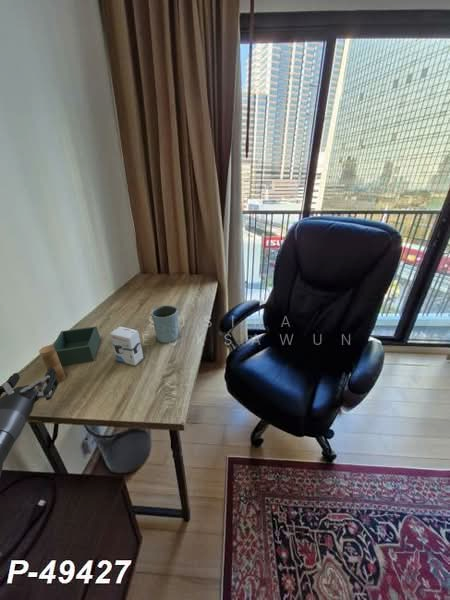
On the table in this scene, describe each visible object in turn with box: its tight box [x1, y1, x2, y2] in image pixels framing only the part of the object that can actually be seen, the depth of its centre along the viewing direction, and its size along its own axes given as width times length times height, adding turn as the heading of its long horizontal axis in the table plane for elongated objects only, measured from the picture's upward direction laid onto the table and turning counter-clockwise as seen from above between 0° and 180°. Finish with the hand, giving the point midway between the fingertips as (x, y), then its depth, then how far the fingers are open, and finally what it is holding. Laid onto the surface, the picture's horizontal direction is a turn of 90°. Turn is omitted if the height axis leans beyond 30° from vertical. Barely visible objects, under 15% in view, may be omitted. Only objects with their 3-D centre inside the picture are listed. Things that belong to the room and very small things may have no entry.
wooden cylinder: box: [38, 344, 67, 383], centre depth 80 cm, size 4×4×12 cm
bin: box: [52, 326, 101, 367], centre depth 93 cm, size 13×14×6 cm
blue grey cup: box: [150, 305, 179, 344], centre depth 101 cm, size 10×10×12 cm
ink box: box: [109, 326, 144, 367], centre depth 88 cm, size 8×5×12 cm, turn 68°
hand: (35, 372), depth 69 cm, fingers open, 8 cm apart
